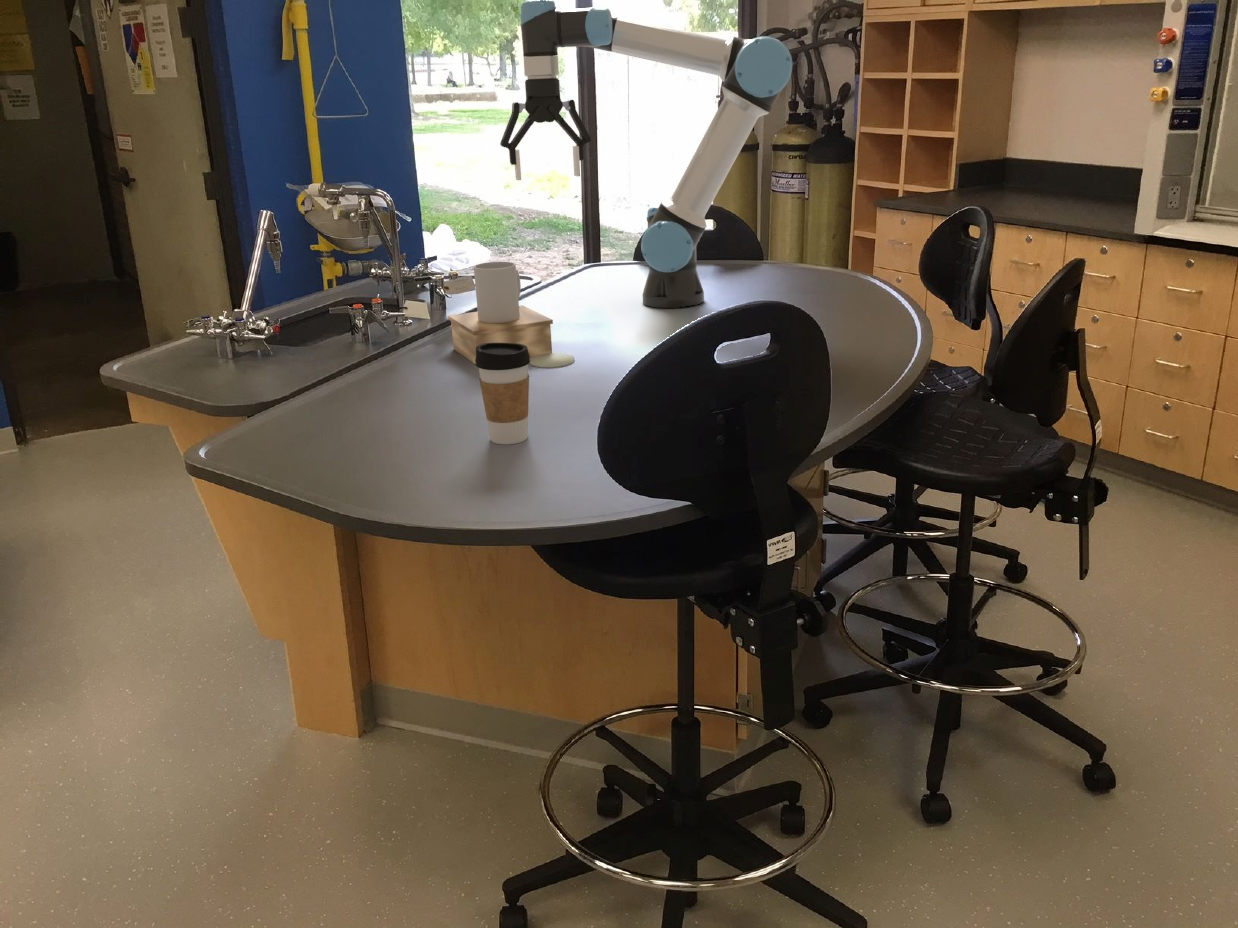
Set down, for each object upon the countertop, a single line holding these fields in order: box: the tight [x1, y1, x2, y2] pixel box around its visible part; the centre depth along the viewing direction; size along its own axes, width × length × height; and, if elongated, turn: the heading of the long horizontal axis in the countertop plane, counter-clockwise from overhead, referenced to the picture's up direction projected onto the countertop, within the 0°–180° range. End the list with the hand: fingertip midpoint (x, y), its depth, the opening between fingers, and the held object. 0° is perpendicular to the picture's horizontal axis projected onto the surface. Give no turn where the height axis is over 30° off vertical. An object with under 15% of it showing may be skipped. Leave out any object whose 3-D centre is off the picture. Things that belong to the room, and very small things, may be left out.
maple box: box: [447, 305, 554, 365], centre depth 210 cm, size 17×17×7 cm
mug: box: [473, 261, 522, 324], centre depth 207 cm, size 12×8×11 cm
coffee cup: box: [475, 343, 531, 446], centre depth 157 cm, size 8×8×15 cm
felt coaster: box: [529, 352, 575, 369], centre depth 202 cm, size 9×9×1 cm
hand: (548, 178), depth 229 cm, fingers open, 13 cm apart
